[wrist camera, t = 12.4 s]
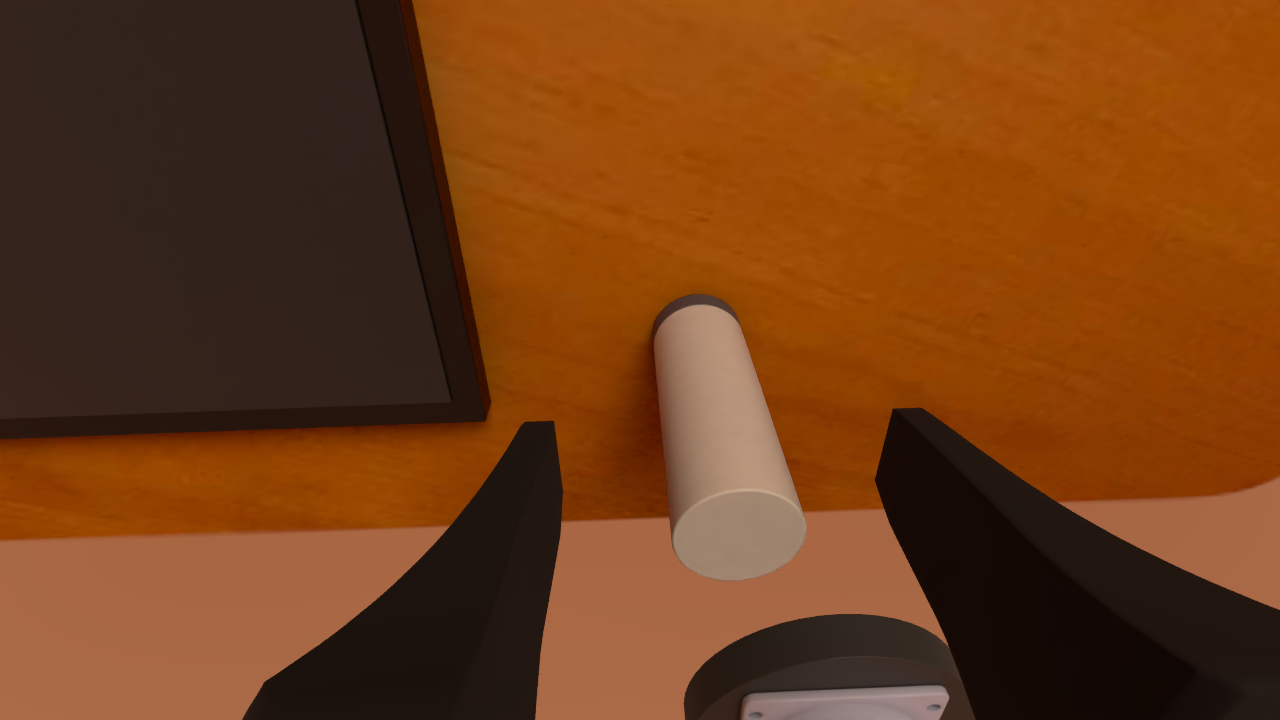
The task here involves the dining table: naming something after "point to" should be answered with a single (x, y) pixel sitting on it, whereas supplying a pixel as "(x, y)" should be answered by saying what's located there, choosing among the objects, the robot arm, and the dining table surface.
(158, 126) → the tablet
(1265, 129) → the dining table surface
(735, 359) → the beige cylinder
